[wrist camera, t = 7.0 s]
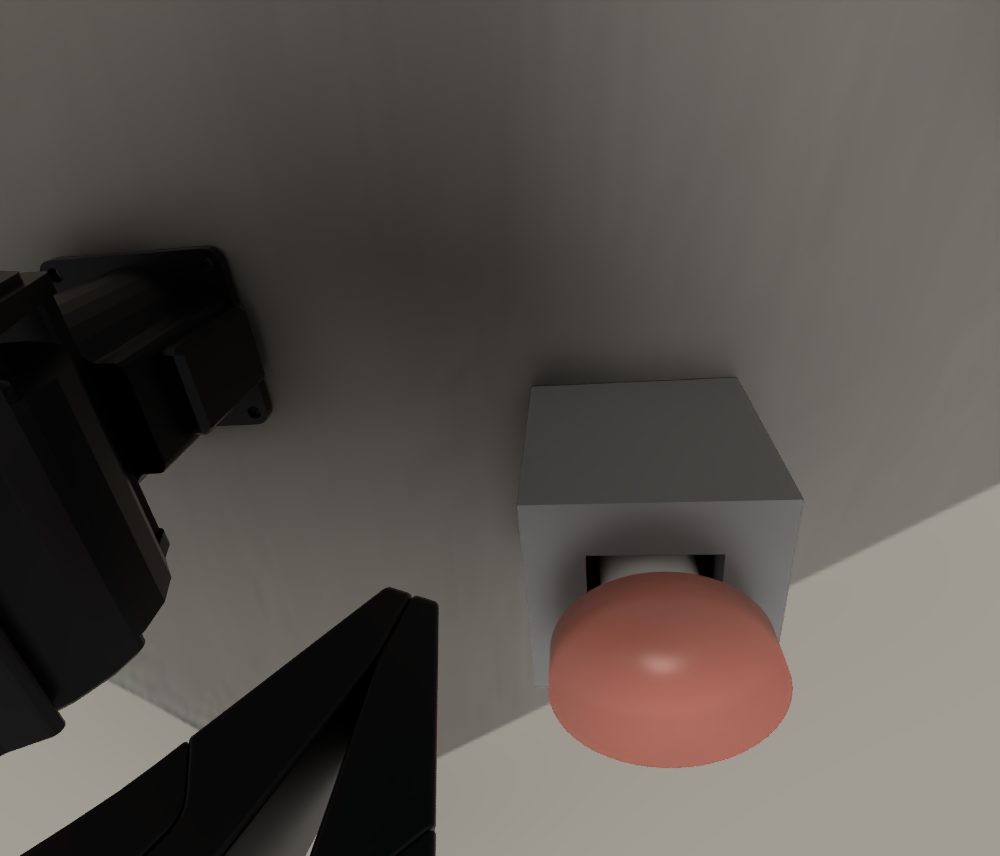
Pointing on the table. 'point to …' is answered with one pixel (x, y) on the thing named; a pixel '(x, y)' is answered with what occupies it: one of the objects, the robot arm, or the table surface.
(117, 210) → the table surface
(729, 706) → the red plunger
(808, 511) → the table surface
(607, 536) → the button housing
